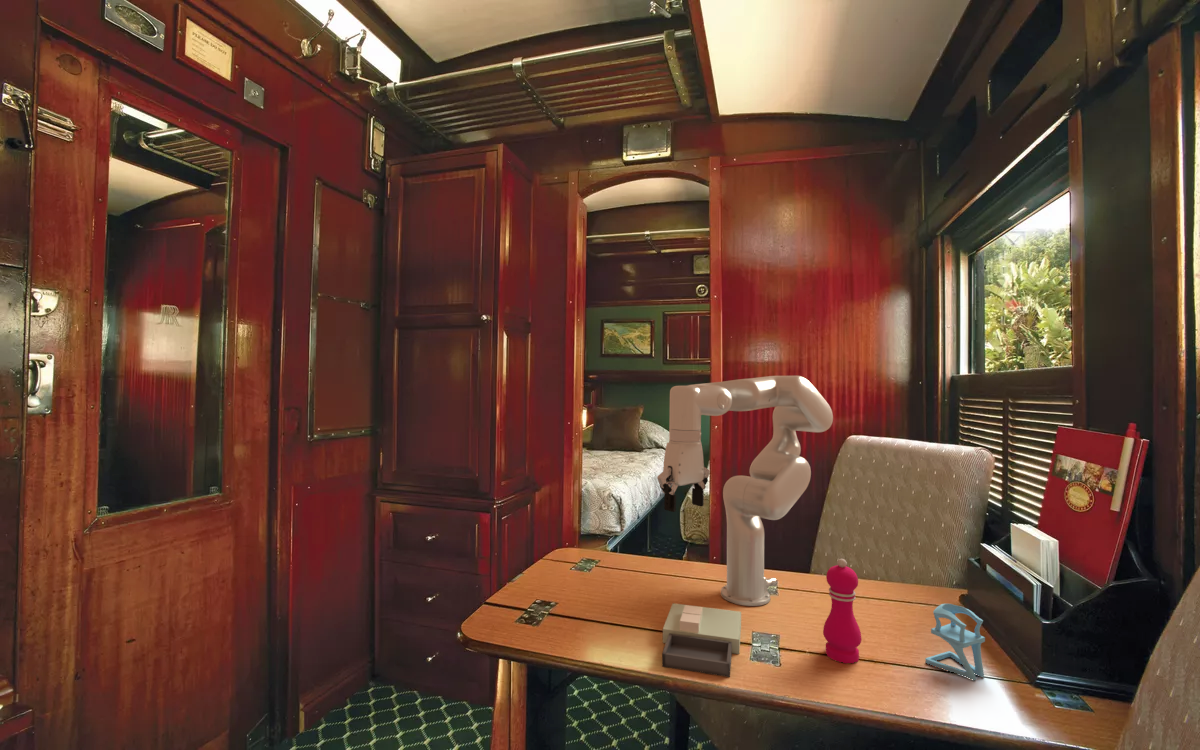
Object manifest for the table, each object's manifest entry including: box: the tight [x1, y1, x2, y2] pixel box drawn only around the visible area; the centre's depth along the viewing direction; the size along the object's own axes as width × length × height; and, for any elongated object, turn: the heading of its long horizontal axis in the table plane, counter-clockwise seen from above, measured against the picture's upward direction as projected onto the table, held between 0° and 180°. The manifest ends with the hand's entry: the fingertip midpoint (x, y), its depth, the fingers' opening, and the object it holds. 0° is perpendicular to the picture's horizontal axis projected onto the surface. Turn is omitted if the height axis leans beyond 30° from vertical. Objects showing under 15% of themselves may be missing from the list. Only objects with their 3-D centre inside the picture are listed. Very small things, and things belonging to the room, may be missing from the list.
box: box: [661, 633, 733, 678], centre depth 107 cm, size 9×13×2 cm
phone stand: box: [924, 603, 986, 681], centre depth 105 cm, size 8×8×12 cm
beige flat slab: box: [662, 602, 742, 655], centre depth 119 cm, size 14×16×3 cm
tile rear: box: [683, 604, 704, 620], centre depth 120 cm, size 4×4×2 cm
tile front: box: [680, 613, 701, 633], centre depth 115 cm, size 4×4×2 cm
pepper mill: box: [822, 558, 862, 664], centre depth 110 cm, size 7×7×20 cm
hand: (684, 507), depth 128 cm, fingers open, 9 cm apart
